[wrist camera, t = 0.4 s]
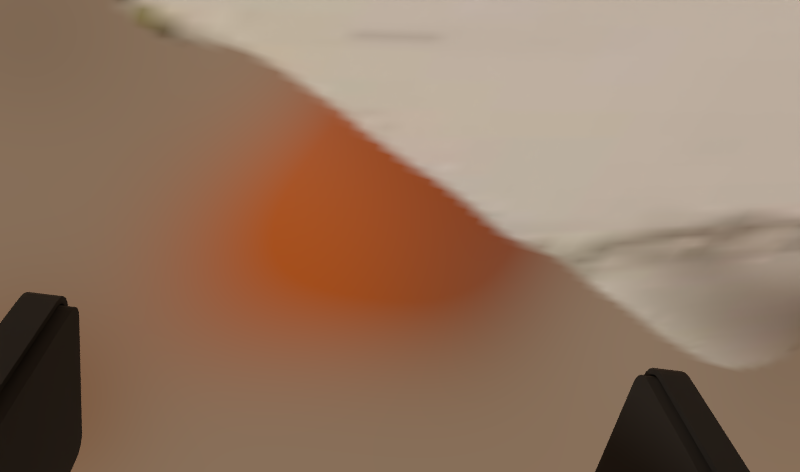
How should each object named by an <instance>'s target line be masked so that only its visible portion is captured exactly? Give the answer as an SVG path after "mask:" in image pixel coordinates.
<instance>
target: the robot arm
mask: <svg viewBox="0 0 800 472" xmlns="http://www.w3.org/2000/svg"><path fill="white" fill-rule="evenodd" d="M80 382H81V377H80V336H79V312H78V309H77V308H76V307H70V306H68V304H67V300H66V298H65V297H63V296H56V295H47V294H40V293H31V292H26V293H24V294H23V295H22V296H21V297H20V298H19V299H18V301H17V302H16V303H15V304H14V306H13V307H12V308H11V310H10V311H9V312H8V314H7V315H6V316H5V318H4V319H3V320H2V322H1V323H0V472H70V471H71V469H72V467H73V465H74V463H75V460H76V458H77V455H78V453H79V449H80V445H81V438H82V419H81V383H80ZM595 472H750V471H749V470H748V468H747V467H746V465H745V463H744V462H743V460H742V459H741V457H740V455H739V454H738V452H737V451H736V449H735V448H734V446H733V445H732V443H731V441H730V440H729V438H728V437H727V436H726V434H725V432H724V431H723V429H722V427H721V426H720V424H719V423H718V421H717V420H716V418H715V417H714V415H713V413H712V412H711V410H710V409H709V407H708V406H707V404H706V403H705V401H704V399H703V398H702V396H701V395H700V393H699V392H698V390H697V388H696V387H695V385H694V384H693V382H692V381H691V379H690V378H689V376H688V375H687V374H686V373H684V372H682V371H673V370H666V369H658V368H651V369H649V370H648V371H646V373H645V375H639V376H638V377H637V378H636V379H635V381H634V383H633V385H632V387H631V390H630V392H629V394H628V397H627V399H626V402H625V404H624V406H623V409H622V411H621V413H620V415H619V418H618V420H617V422H616V425H615V427H614V429H613V432H612V434H611V436H610V439H609V441H608V443H607V446H606V448H605V450H604V453H603V455H602V457H601V460H600V462H599V464H598V467H597V469H596V471H595Z"/></svg>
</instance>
